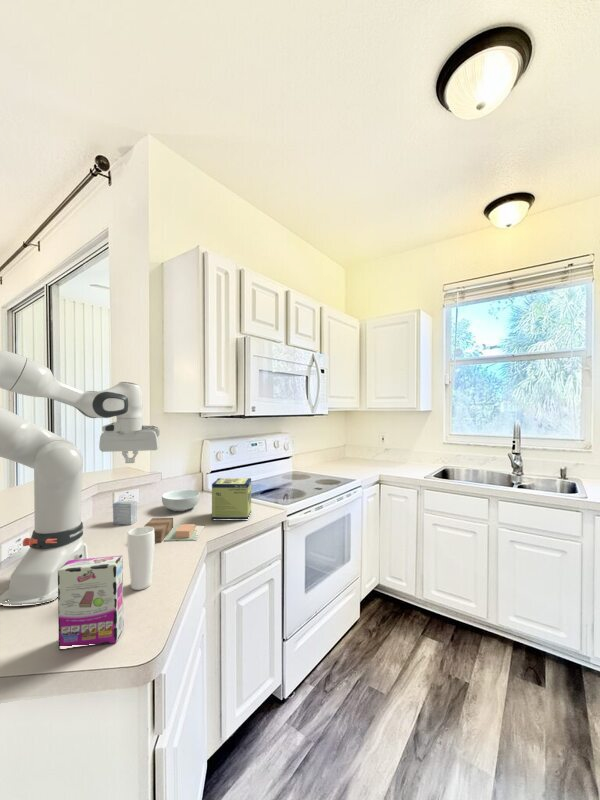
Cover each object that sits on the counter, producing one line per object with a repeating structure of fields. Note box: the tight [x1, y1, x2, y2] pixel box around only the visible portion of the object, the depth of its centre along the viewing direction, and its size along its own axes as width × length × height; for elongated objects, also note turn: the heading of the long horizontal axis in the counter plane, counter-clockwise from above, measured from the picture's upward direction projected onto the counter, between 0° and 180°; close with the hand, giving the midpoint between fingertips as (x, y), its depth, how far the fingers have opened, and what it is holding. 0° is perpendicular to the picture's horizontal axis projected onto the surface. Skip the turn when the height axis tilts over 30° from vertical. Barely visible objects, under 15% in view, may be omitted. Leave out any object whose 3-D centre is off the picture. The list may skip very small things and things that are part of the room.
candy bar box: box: [57, 555, 124, 647], centre depth 74 cm, size 11×5×16 cm, turn 101°
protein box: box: [211, 477, 252, 520], centre depth 151 cm, size 10×16×16 cm
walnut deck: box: [143, 517, 174, 543], centre depth 130 cm, size 14×8×4 cm, turn 3°
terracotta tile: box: [175, 523, 196, 538], centre depth 130 cm, size 7×5×2 cm
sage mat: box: [163, 524, 199, 542], centre depth 132 cm, size 14×12×1 cm
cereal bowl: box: [161, 489, 201, 512], centre depth 161 cm, size 17×17×7 cm
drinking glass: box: [126, 525, 155, 591], centre depth 95 cm, size 7×7×15 cm
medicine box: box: [112, 500, 138, 526], centre depth 143 cm, size 8×4×9 cm, turn 84°
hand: (130, 463), depth 130 cm, fingers closed
